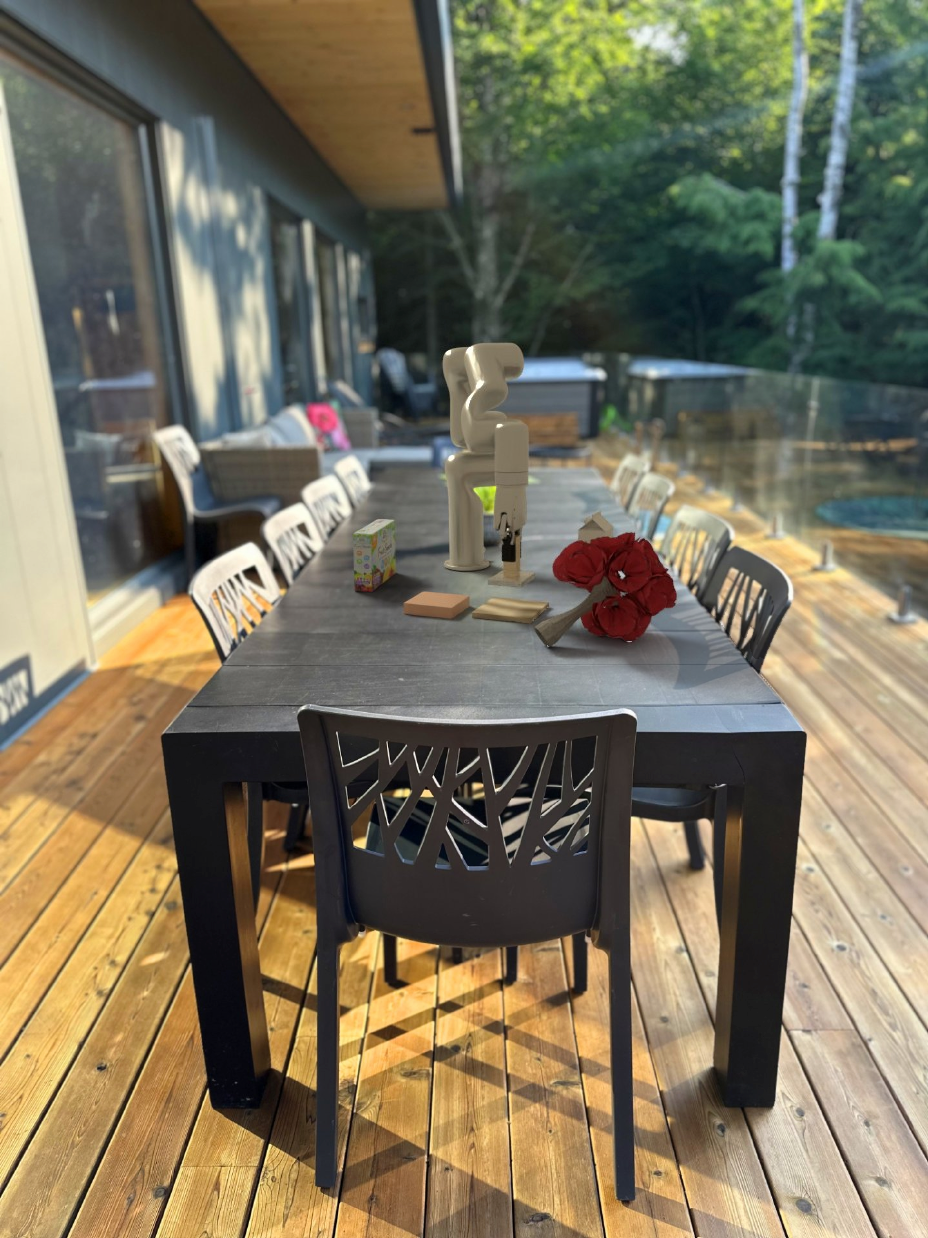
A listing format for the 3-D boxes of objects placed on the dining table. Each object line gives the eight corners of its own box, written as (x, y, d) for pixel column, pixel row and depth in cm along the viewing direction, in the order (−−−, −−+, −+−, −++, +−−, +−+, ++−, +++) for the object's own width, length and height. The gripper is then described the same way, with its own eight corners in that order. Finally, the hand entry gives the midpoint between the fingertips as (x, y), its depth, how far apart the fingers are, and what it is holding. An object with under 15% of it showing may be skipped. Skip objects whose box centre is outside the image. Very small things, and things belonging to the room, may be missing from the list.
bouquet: (588, 695, 177) (709, 610, 181) (530, 598, 170) (657, 510, 173) (549, 667, 198) (659, 590, 201) (496, 579, 190) (610, 501, 193)
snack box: (374, 592, 228) (372, 533, 224) (353, 591, 230) (350, 533, 225) (397, 572, 248) (395, 518, 244) (377, 572, 249) (375, 517, 245)
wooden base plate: (493, 601, 219) (493, 596, 218) (548, 607, 213) (549, 602, 213) (471, 617, 206) (471, 612, 206) (530, 623, 201) (530, 618, 201)
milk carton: (611, 583, 234) (614, 510, 228) (603, 590, 227) (606, 515, 222) (585, 581, 237) (587, 509, 231) (576, 587, 230) (578, 513, 225)
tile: (423, 591, 219) (403, 602, 209) (469, 595, 215) (451, 607, 205) (423, 603, 220) (404, 615, 210) (469, 607, 216) (451, 620, 206)
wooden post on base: (502, 574, 213) (502, 530, 210) (535, 577, 210) (535, 532, 207) (487, 584, 204) (487, 538, 202) (521, 587, 201) (521, 541, 199)
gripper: (508, 473, 210) (508, 551, 215) (482, 483, 195) (483, 566, 200) (538, 475, 207) (538, 553, 212) (515, 484, 192) (515, 568, 197)
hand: (511, 559), depth 206 cm, fingers closed on wooden post on base, 3 cm apart
